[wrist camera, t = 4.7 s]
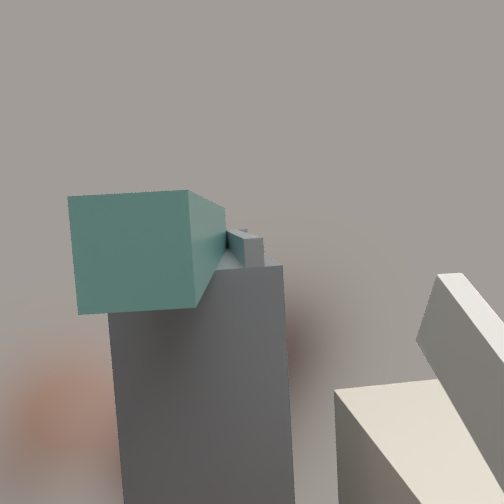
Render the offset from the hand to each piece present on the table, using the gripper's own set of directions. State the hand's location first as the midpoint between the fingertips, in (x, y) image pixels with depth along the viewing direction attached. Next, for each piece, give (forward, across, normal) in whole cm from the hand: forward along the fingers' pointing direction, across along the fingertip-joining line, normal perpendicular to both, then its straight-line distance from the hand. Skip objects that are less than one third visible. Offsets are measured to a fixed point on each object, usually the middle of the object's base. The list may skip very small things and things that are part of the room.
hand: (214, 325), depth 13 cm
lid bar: (+12, -1, -6) cm, 13 cm away
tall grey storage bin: (+1, -1, -35) cm, 35 cm away
